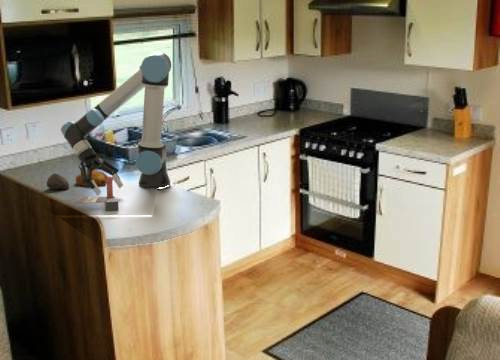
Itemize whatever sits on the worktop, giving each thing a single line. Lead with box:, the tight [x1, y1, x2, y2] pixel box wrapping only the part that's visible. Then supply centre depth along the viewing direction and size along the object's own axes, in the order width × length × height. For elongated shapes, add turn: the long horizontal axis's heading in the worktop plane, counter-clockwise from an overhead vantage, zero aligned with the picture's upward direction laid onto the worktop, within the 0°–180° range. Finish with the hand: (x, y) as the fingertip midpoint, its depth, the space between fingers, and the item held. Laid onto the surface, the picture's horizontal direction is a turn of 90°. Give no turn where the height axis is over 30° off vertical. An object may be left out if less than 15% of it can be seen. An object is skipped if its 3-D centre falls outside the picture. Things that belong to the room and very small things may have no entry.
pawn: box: [105, 175, 115, 199], centre depth 274 cm, size 4×4×11 cm
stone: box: [46, 173, 70, 190], centre depth 293 cm, size 10×8×10 cm
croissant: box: [75, 169, 108, 188], centre depth 301 cm, size 14×16×8 cm
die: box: [104, 197, 119, 212], centre depth 263 cm, size 5×5×5 cm
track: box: [76, 196, 117, 204], centre depth 275 cm, size 16×8×1 cm, turn 94°
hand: (110, 190), depth 274 cm, fingers open, 13 cm apart
